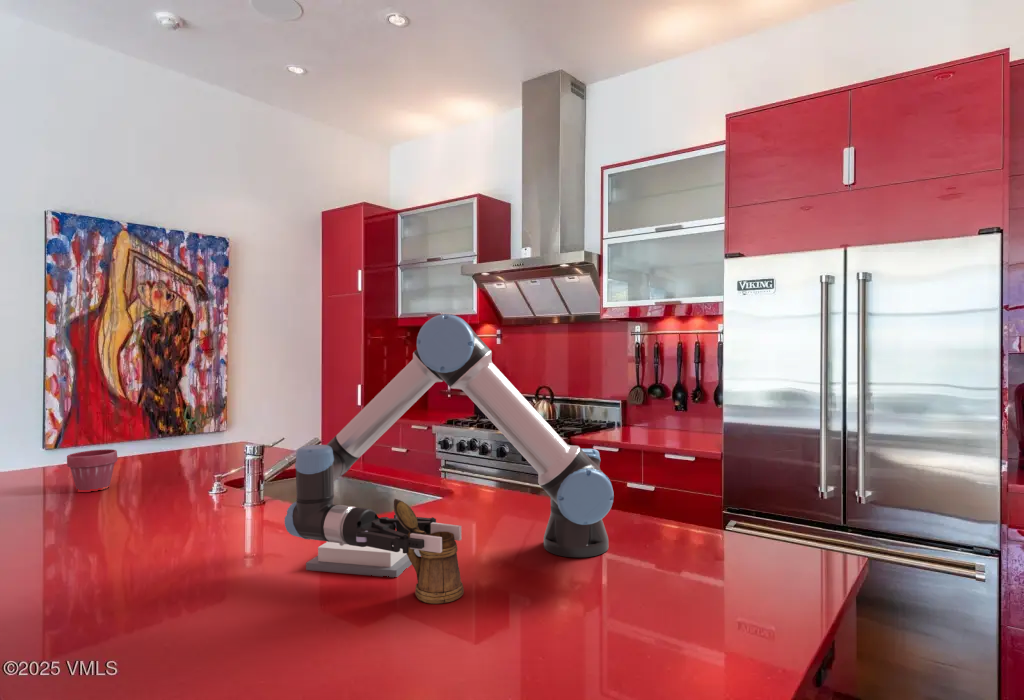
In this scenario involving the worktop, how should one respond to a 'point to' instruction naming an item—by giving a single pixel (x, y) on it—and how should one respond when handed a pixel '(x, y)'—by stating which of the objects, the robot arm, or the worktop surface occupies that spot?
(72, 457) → the plant pot
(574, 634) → the worktop surface
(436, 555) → the wooden mug
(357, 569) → the plate
